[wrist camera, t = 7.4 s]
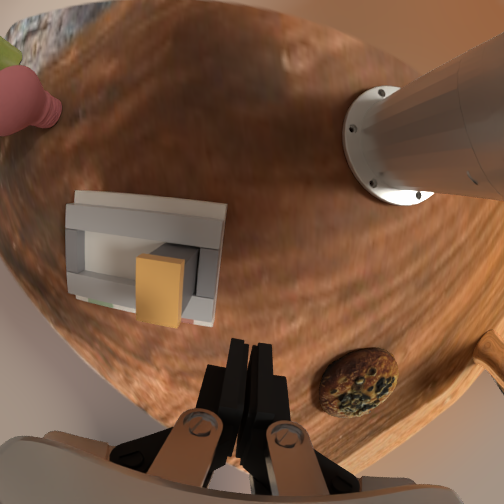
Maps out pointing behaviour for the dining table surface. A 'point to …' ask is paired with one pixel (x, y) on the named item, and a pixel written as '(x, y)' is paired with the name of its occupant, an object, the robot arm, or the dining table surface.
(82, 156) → the dining table surface
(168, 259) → the breaker handle
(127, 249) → the switch panel
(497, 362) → the beer glass
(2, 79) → the light bulb
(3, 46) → the plant pot
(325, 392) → the bread roll
